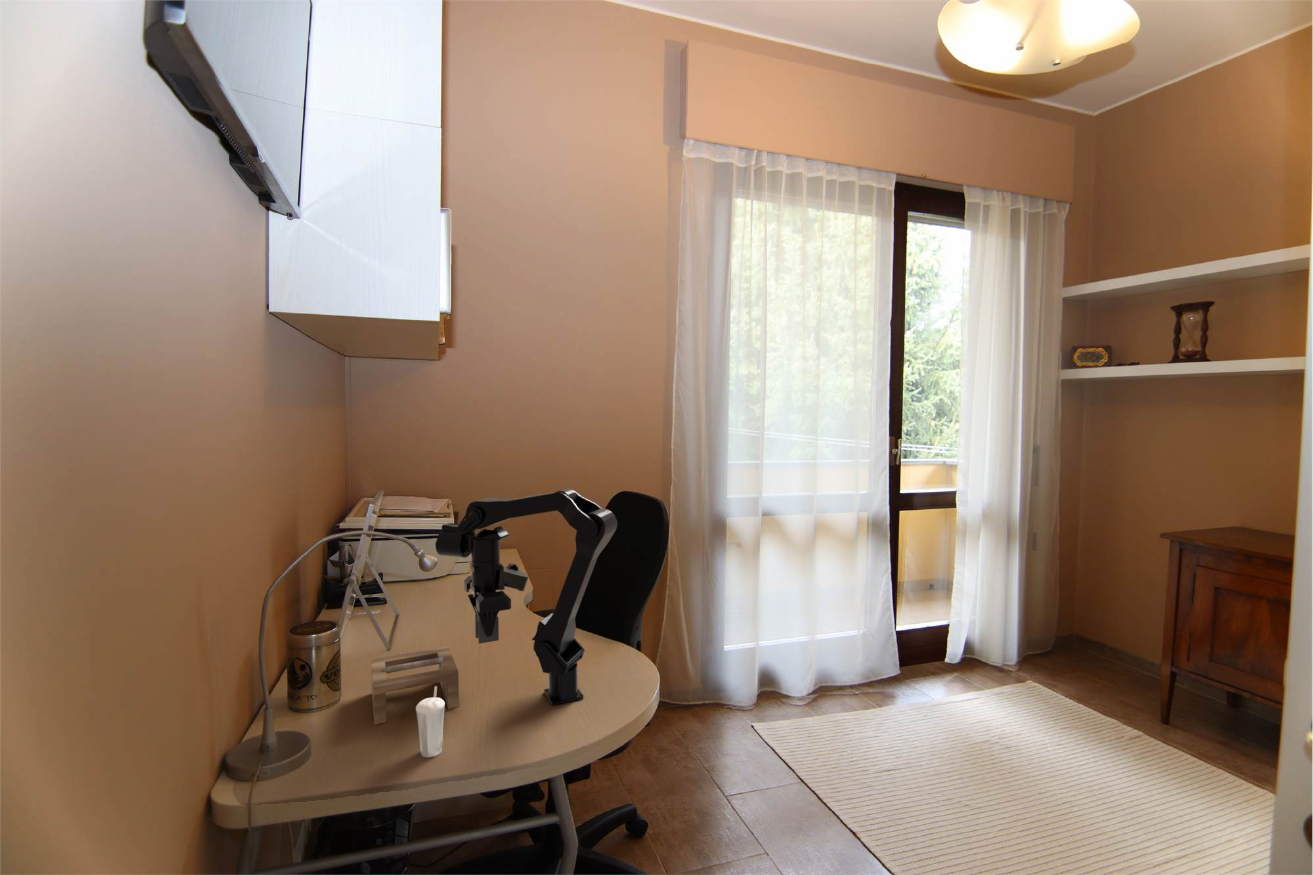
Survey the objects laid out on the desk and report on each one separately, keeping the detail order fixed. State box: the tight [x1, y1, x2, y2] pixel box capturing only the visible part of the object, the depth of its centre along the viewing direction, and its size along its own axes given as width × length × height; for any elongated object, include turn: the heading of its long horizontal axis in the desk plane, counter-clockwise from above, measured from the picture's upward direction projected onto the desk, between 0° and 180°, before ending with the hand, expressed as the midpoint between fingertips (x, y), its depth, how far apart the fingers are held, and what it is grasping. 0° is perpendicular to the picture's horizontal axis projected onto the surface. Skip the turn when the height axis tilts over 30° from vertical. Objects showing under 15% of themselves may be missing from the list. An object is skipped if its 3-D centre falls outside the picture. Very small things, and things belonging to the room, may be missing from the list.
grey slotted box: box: [474, 614, 500, 645], centre depth 128 cm, size 4×4×5 cm
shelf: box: [370, 645, 460, 726], centre depth 122 cm, size 14×15×8 cm
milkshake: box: [415, 685, 446, 758], centre depth 104 cm, size 5×5×10 cm
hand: (487, 632), depth 128 cm, fingers closed on grey slotted box, 4 cm apart
